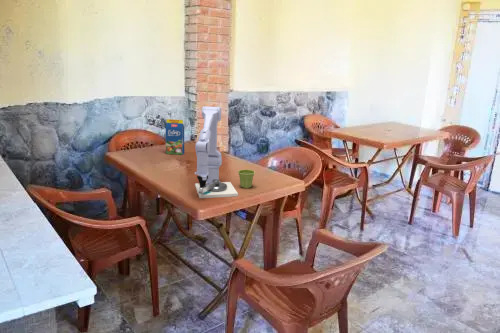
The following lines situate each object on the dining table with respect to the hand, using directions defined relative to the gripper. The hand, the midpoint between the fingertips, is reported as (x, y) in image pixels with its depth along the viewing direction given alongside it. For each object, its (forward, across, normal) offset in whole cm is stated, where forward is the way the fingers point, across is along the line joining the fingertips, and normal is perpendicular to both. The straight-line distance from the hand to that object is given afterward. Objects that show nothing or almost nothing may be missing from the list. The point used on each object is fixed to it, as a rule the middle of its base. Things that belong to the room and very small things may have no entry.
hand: (202, 189), depth 212 cm
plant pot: (+4, -11, +26) cm, 28 cm away
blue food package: (+4, -93, -7) cm, 93 cm away
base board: (+3, -6, +8) cm, 10 cm away
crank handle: (+2, -2, +5) cm, 6 cm away
